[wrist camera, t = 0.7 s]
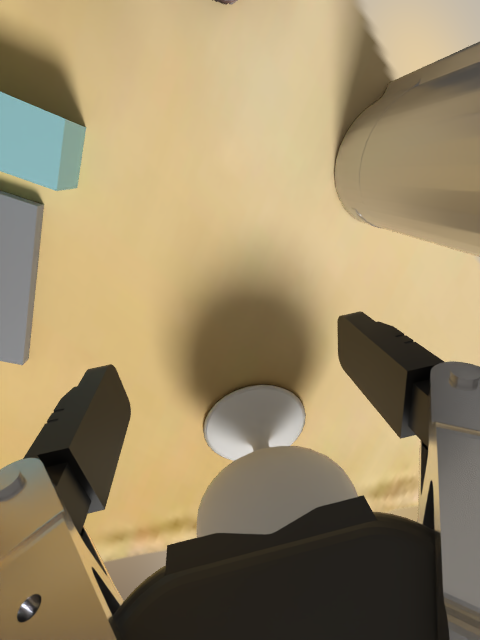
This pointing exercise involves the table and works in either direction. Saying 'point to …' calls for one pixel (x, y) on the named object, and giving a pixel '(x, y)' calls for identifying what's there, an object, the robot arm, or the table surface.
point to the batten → (39, 145)
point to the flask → (226, 1)
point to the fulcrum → (18, 273)
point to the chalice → (264, 465)
